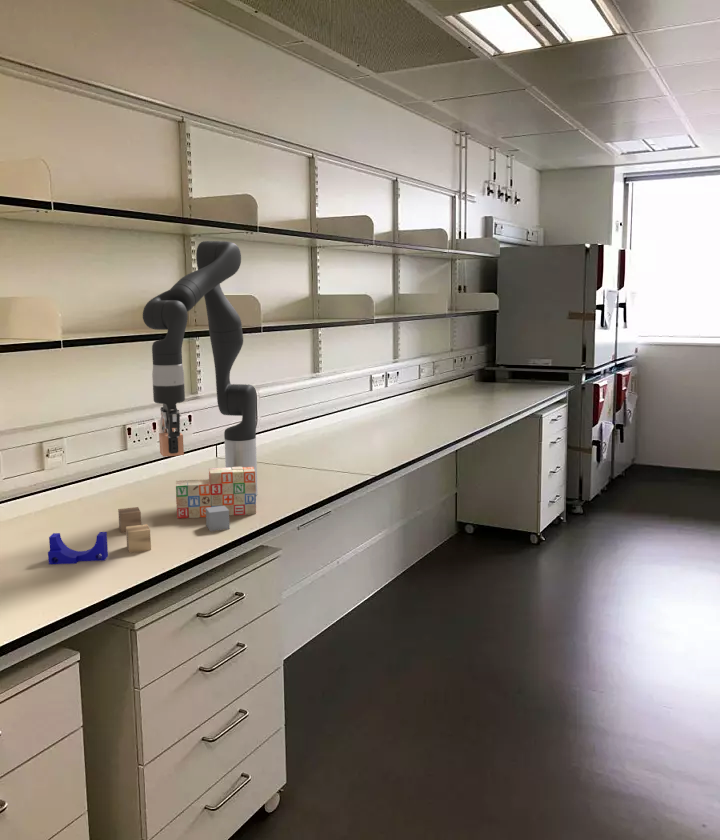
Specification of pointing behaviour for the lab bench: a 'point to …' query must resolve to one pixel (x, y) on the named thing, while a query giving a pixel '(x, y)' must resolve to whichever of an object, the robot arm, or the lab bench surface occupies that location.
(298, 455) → the lab bench surface
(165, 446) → the terracotta block
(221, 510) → the gray block
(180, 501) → the stack of blocks
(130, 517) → the tan block
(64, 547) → the blue cradle bracket
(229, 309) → the robot arm
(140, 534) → the oak block
